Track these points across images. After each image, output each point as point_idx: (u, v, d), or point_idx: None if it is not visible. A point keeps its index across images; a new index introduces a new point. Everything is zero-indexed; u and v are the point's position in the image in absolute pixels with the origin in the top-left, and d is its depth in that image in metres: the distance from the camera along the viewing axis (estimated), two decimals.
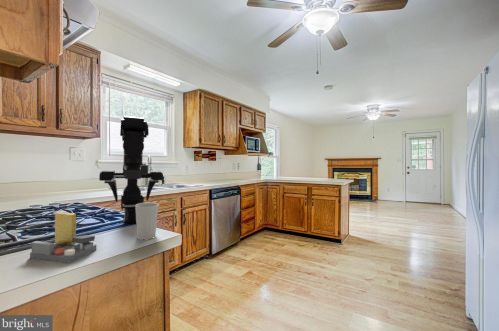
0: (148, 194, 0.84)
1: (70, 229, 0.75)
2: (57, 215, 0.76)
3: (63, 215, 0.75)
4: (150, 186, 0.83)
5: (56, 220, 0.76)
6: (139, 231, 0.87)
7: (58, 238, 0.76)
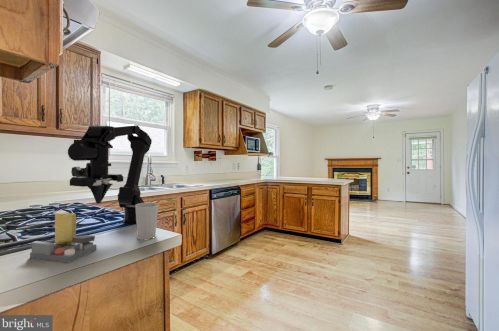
0: None
1: (70, 229, 0.75)
2: (57, 215, 0.76)
3: (63, 215, 0.75)
4: None
5: (56, 220, 0.76)
6: (139, 231, 0.87)
7: (58, 238, 0.76)
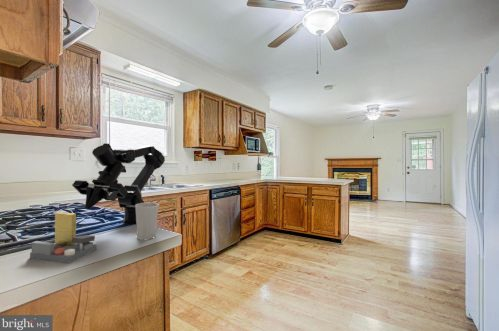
0: None
1: (70, 229, 0.75)
2: (57, 215, 0.76)
3: (63, 215, 0.75)
4: None
5: (56, 220, 0.76)
6: (139, 231, 0.87)
7: (58, 238, 0.76)
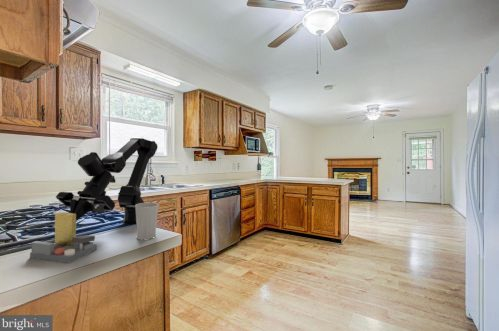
0: None
1: (70, 229, 0.75)
2: (57, 215, 0.76)
3: (63, 215, 0.75)
4: None
5: (56, 220, 0.76)
6: (139, 231, 0.87)
7: (58, 238, 0.76)
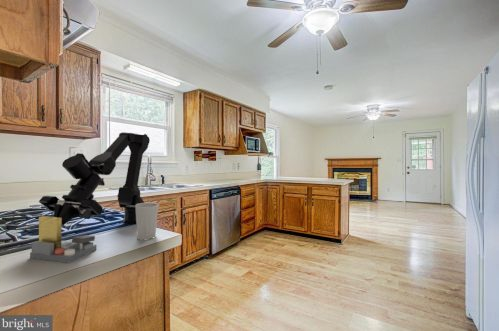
0: None
1: (55, 234, 0.70)
2: (41, 220, 0.71)
3: (47, 219, 0.70)
4: None
5: (40, 225, 0.71)
6: (139, 231, 0.87)
7: None
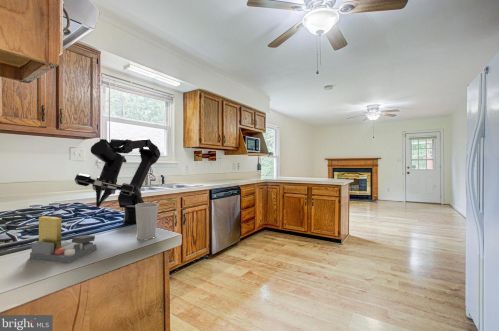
0: None
1: (55, 234, 0.70)
2: (41, 220, 0.71)
3: (47, 219, 0.70)
4: None
5: (40, 225, 0.71)
6: (139, 231, 0.87)
7: None
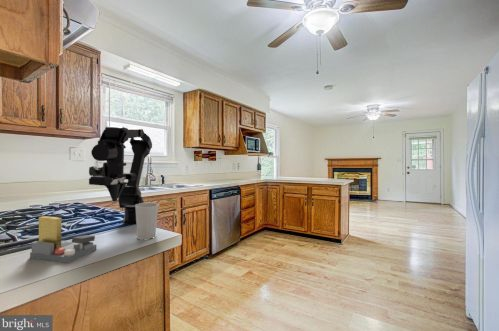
0: None
1: (55, 234, 0.70)
2: (41, 220, 0.71)
3: (47, 219, 0.70)
4: None
5: (40, 225, 0.71)
6: (139, 231, 0.87)
7: None
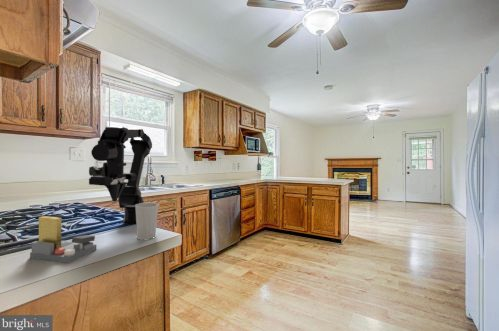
0: None
1: (55, 234, 0.70)
2: (41, 220, 0.71)
3: (47, 219, 0.70)
4: None
5: (40, 225, 0.71)
6: (139, 231, 0.87)
7: None
